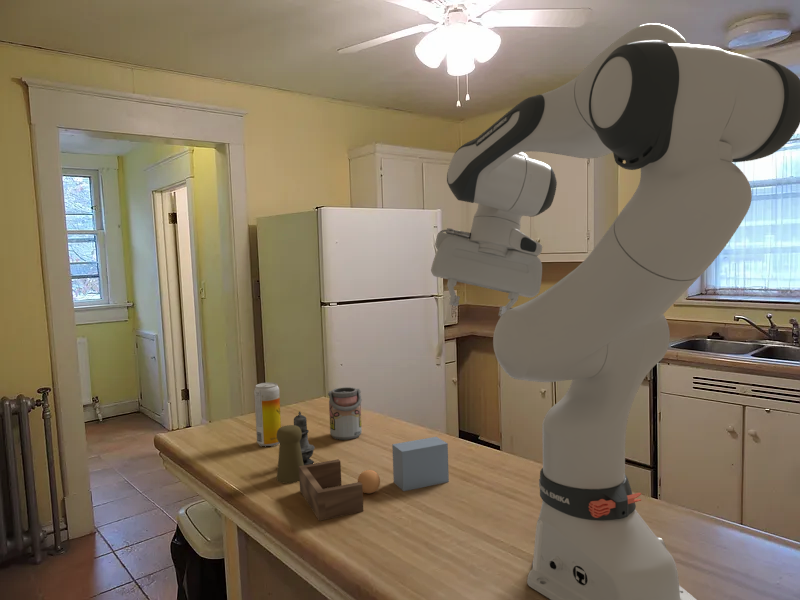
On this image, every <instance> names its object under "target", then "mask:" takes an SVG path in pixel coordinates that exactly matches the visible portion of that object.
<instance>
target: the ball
mask: <svg viewBox="0 0 800 600" xmlns="http://www.w3.org/2000/svg"><path fill="white" fill-rule="evenodd" d="M379 475H380V474H378V473H377V472H376V471H374V470H372V469H366V470H364V471H362V472H360V473H359V475H358V478H357V482H361V483H362V489H363V493H365V494H367V495H368V494H373V493H375V492H376V491H377V490H378V489H379V487H380V485H381V477H380V476H379Z"/></svg>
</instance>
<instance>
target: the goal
mask: <svg viewBox="0 0 800 600" xmlns="http://www.w3.org/2000/svg"><path fill="white" fill-rule="evenodd" d="M341 465H342V463H341V460H340V459H332V460H327V461H323V462H314V464H309V465H304V466H299V479H300V481H299V492H300V493H301V495H302V497H303V498H304V499H305V501H306V502H307V504H308V506H309V507H310V509H311V510H312V512H313V513H314V515H315V516H316V518H317V519H318V521H324V520H330V519H333V518H339V517H342V516H347V515H351V514H355V513H356V514H357V513H362V512H364V494H363V493H364V492H363V489H362V483H361V482H358V481H357V482H352V483H348V484H343V485H342V468H341ZM338 485H340V486H338ZM334 486H335V487H334ZM329 487H330V488H329Z"/></svg>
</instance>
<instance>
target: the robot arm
mask: <svg viewBox="0 0 800 600" xmlns="http://www.w3.org/2000/svg"><path fill="white" fill-rule="evenodd" d="M799 127H800V77H798V75H797V74H796V73H795V72H793V71H792V70H790V69H789V68H788V67H785V66H784V65H782V64H780V63H778V62H776V61H773V60H770V59H767V58H762V57H761V58H759V57H758V58H753V57H750V56H747V55H746V54H745V55H744V54H740V53H737V52H736V53H735V52H731V51H729V50H728V51H727V50H724V49H722V48H720V47H717V46H712V45H705V44H704V45H703V44H694V43H693V44H692V43H688V41H687V40H686V39H685V37H684V36H683V35H682V34H681V33H680V32H678V31H677V30H676V29H674V28H673V27H671V26H668V25H665V24H661V23H657V22H655V23H653V22H652V23H644V24H641V25H639V26H636V27H634V28H632V29H631V30H629V31H628V32H626V33H625V34H623V35H621V36H620V37H619V38H617V39H616V40H615V41H614V42H613V43H610V45H608V47H606V48H605V49H604V50H603V51H602V52H601V53H599V54H598V55H596V56H595V58H594V59H593V60H591V62H590V63H588V65H587V66H586V67H585V68H584V69H583V70H582V71H581V72H580V73H579V74H578V75H577V76H575V78H573V79H571V80H570V81H567V83H564V84H562V85H561V86H559V87H557V88H555V89H552V90H549V91H547V92H544V93H542V94H536V95H533V96H529V97H526V98H525V99H523V100H522V101H520V102H519V103H518V104H517V105H515V106H514V107H512V108H511V109H510V110H509V111H507V112H506V113H505V114H504V115H503V116H501V117H500V118H499V119H498V120H497V121H496V122H494V123H493V124H492V125H491V126H489V127H488V128H487V129H485V131H483V132H482V133H481V134H480V135H479V136H477V137H476V138H474V139H472V140H469V141H467V142H466V143H464V144H462V145H461V146H460V147H459V148H458V149H456V151H455V152H454V154H453V156H452V158H451V160H450V163H449V164H448V165H449V166H448V168H447V173H446V184H447V186H448V187H449V189H450V191H451V193H452V194H453V195H454V198H456V199H457V201H461V202H466V203H472V204H474V203H475V204H477V205H478V206H477V209H476V212H475V213H474V216H473V218H472V223H471V228H470V232H468V231H463V230H456V229H453V228H449V227H448V228H447V227H446V229H442V230H440V231H439V232H438V233H437V235H436V239H435V245H434V246H435V248H436V252H435V255H434V258H433V261H432V264H431V269H430V271H431V273H432V274H431V275H432V276H433V277H436V278H440V279H445V280H447V283H446V286H447V290H448V292H449V295H450V298H449V304H448V305H449V306H452V307H453V306H454V307H458V306H459V303H460V298H461V296H458V295H456V291H455V286H457V282H458V283H462V284H466V285H471V286H476V287H480V288H484V289H489V290H494V291H498V292H502V293H506V294H508V296H507V300H509V301H508V302H507V303H506V304H505V306H504V305H503V306H502V305H501V306H499V312H498V317H499V319H498V321H497V323H496V325H495V328H494V331H493V338H492V339H493V340H492V344H493V345H492V347H493V351H494V354H495V358H496V361H497V362H498V364H499V366H500V368H502V369H503V371H504V372H505V374H507V375H508V377H510V378H513V379H514V380H521V381H527V382H537V383H539V382H540V383H554V382H555V383H556V382H563V381H571V383H570V385H569V388H568V390H567V391H566V393H565V394H564V395H563V397H562V398H561V399H560V400H559V401H558V402H556V403H555V404H554V405H553V406H551V407H550V408H549V410H548V411H547V412H546V414H545V415H544V418H543V421H542V425H541V427H542V429H541V430H542V433H541V435H542V438H541V439H542V468H541V469H540V472H539V479H538V485H539V496H540V498H541V500H542V501H541V503H542V504H541V507H540V512H539V516H538V519H537V522H536V527H535V534H534V535H535V537H534V548H533V560H532V569H530V571H529V573H528V575H527V580H526V581H527V582H526V583H527V586H529V587H530V588H531V589H533V590H535V591H536V592H538V593H540V594H541V595H542V596H544V597H546V598H547V599H549V600H698V599H697V598H696V597H694V595H692V594H691V593H689V591H687V590H686V589H685V588H684V587H682V586H681V585H680V581H679V574H678V569H677V564H676V561H675V559H674V556H673V555H672V554H671V553H670V551H669V550H668V549H667V547H666V544H665V543H666V542H665V541H664V539H662V538H661V537H659V536H657V535H656V534H655V532H653V530H652V529H651V528H650V527H649V525H648V524H647V522H646V521H645V520H644V519H643V518H642V516H641V515H640V513H638V511H637V510H636V507H637V506H636V503H637V502H641V501H642V499H641V498H639V497H640V496H642V492H635V493H633V491H632V488H631V485H630V482H629V478H628V476H627V475H626V466H625V465H626V443H627V442H626V439H627V424H628V419H629V416H630V412H631V409H632V406H633V403H634V400H635V398H636V396H637V393H638V391H639V388H641V386H642V383H643V381H644V380H645V379H646V377H647V375H648V374H649V373H650V372H651V370H652V369H653V368H654V367H655V366H656V365H657V364H658V363H660V362H661V361H662V359H663V358H664V357H665V355H666V354H667V351H668V350H669V346H670V345H669V344H670V338H671V336H670V334H671V332H670V326H669V324H668V323H669V322H668V320H667V318H666V316H665V313H666V312H667V311H668V310H669V309H670V308H671V307H672V306H673V305H674V304H675V302H676V301H678V300H679V298H680V297H681V296H682V295H683V294H684V293H685V292H686V291H688V290H689V289H690V287H692V285H693V284H694V283H695V282H697V280H698V279H699V278H700V277H701V276H702V274H703V273H705V271H707V269H708V268H709V267H710V266H711V265H712V264H713V262H715V261H716V259H717V257H719V255H721V253H722V252H723V250H724V249H725V247H726V246H727V245H728V243H729V242H730V241H731V239H732V237H733V236H734V235H735V233H736V231H737V230H738V228H739V227H740V225H741V224H742V223H743V220H744V219H745V217H746V215H747V214H748V212H749V210H750V208H751V203H752V197H753V195H752V194H753V192H752V188H751V184H750V182H749V180H748V178H747V176H746V175H745V173H744V172H743V171H742V170H741V169H740V168H739V166H737V165H736V164H735V163H742V162H743V163H745V162H749V161H750V162H751V161H755V160H760V159H762V158H765V157H769V156H771V155H773V154H774V153H777V152H778V151H780V149H782V148H783V147H784V146H785V145H786V144H787V143H789V141H790V140H791V139H792V137H793V136H794V135H795V133H796V132H797V131H798V129H799ZM525 152H528V153H529V152H538V153H546V154H547V153H548V154H556V155H561V156H566V157H572V158H579V159H588V160H589V159H598V158H603V157H604V156H608V155H610V154H613V158H614V162H615V163H616V165H617V166H619V167H621V168H622V169H625V170H628V171H629V170H630V171H636V170H640V178H639V179H640V180H639V184H638V186H637V188H636V190H635V192H634V194H633V195H632V196H631V198H630V199H629V200H628V202H626V204H625V206H624V207H623V208H622V209H621V211H620V212H619V214H618V215H617V216H616V218H615V220H614V221H613V222H612V224H611V225H609V226H610V227H609V228H608V229H607V231H606V232H605V234H604V235H603V236H602V238H601V239H600V240H599V241H598V243H597V244H596V246H595V247H593V250H591V252H589V255H588V256H587V257H586V258H585V259H584V260H583V261H582V262H581V263H580V264H578V266H577V267H576V268H575V269H573V270H572V271H570V272H568V274H567V275H566V276H563V278H561V279H560V280H558V281H557V282H555V284H553V285H552V286H550V287H548V289H546V290H544V291H543V292H542V293H540V290H541V285H542V277H543V263H542V261H541V259H540V257H539V256H540V255H541V253H542V251H543V245H542V243H540V242H538V241H537V240H534V239H533V238H531V237H530V236H528V235H526V234H525V233H523V232H522V231H520V230H521V219H522V217H537V216H538V215H540V214H543V213H544V212H546V211H547V210H548V209H550V208H551V206H552V204H553V201H554V198H555V196H556V191H557V187H558V186H557V185H558V181H557V178H556V174H555V171H554V170H553V168H552V166H551V165H550V164H547V163H545V162H543V161H541V160H537V159H533V158H531V157H529V155H528V154H526V153H525ZM624 161H625V163H624ZM539 293H540V294H539ZM538 294H539V295H538ZM519 297H524V298H529V299H530V300H528V301H526V302H524V303H522V304H519V305H517V306H515V307H513V306H514V305H515V304H516V303H517V301H518V300H519ZM531 298H532V299H531Z"/></svg>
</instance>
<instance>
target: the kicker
mask: <svg viewBox="0 0 800 600" xmlns="http://www.w3.org/2000/svg"><path fill="white" fill-rule="evenodd" d="M391 446H392V470H393V472H392V474H393V483H394V484H395V485H396V486H397V487H398V489H400V490H401V491H403V492H407V491H411V490H412V491H413V490H417V489H420V488H422V489H423V488H425V487H430V486H431V487H432V486H435V485H440V484H441V485H442V484H446V483H449V482H450V481H449V480H450V478H449V474H450V473H449V447H448V446H449V444H448V442H446V441H444V440H442V438H439V437H438V436H433V437H432V436H431V437H427V438H422V439H421V438H420V439H415V440H408V441H405V442H397V443H392V445H391Z"/></svg>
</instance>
